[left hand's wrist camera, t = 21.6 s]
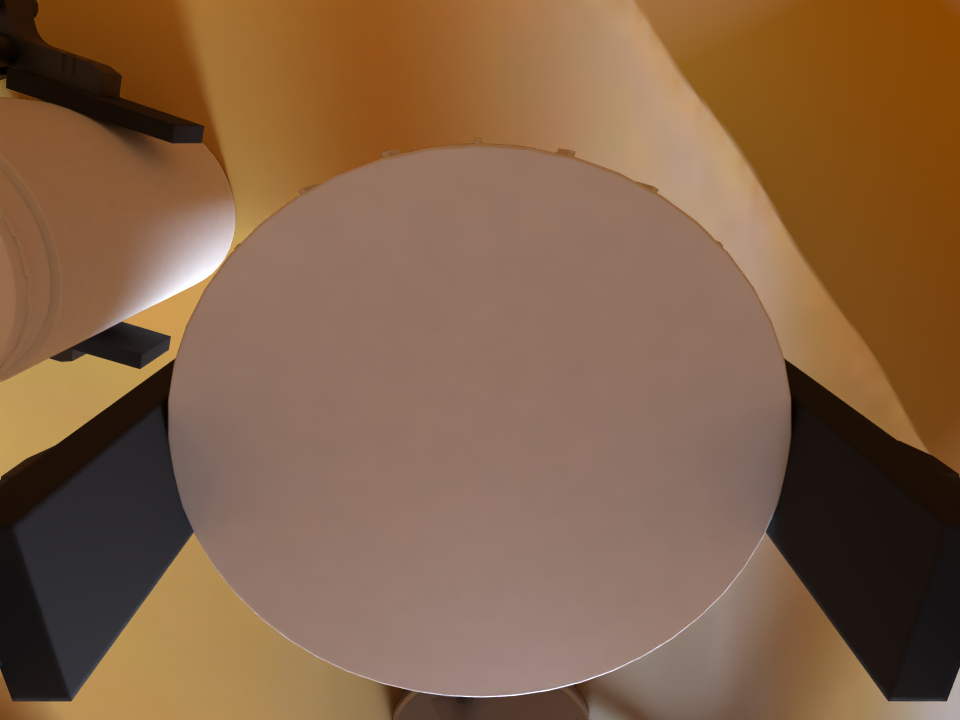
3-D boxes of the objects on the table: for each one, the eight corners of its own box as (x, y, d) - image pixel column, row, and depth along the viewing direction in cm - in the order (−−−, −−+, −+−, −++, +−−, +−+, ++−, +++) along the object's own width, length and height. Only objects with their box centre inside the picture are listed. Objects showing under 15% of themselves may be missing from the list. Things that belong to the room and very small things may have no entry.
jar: (263, 264, 33) (86, 366, 18) (110, 310, 34) (-179, 442, 19) (188, 84, 30) (-102, 28, 15) (21, 140, 31) (-409, 140, 16)
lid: (96, 380, 11) (28, 422, 10) (540, -7, 9) (554, -40, 7) (441, 697, 14) (436, 772, 13) (841, 464, 12) (901, 518, 10)
